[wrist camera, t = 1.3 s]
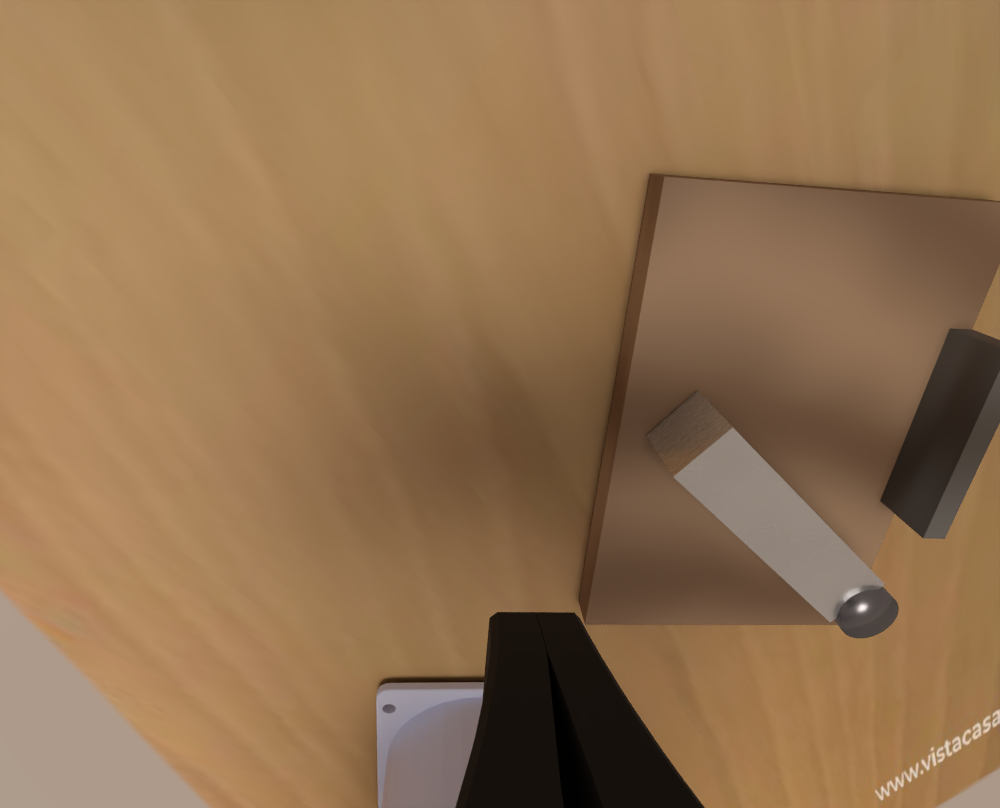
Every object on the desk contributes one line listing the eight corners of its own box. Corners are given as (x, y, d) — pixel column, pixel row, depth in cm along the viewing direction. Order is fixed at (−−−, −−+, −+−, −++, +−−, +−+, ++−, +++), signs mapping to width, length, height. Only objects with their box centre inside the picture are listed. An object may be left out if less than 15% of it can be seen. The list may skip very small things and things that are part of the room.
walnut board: (828, 601, 23) (882, 668, 20) (578, 600, 22) (597, 670, 19) (987, 199, 17) (1099, 213, 14) (649, 173, 16) (694, 182, 13)
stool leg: (859, 557, 21) (911, 612, 18) (811, 591, 21) (856, 648, 19) (697, 390, 17) (736, 431, 15) (646, 434, 18) (675, 481, 16)
